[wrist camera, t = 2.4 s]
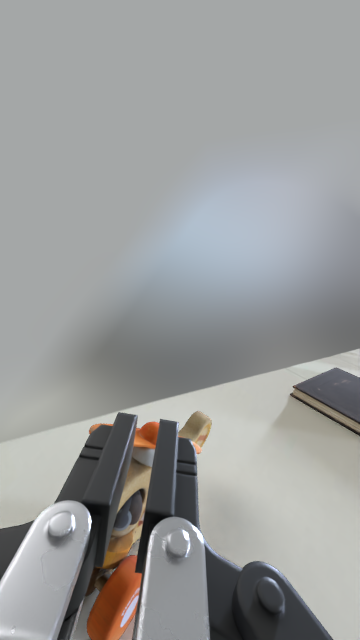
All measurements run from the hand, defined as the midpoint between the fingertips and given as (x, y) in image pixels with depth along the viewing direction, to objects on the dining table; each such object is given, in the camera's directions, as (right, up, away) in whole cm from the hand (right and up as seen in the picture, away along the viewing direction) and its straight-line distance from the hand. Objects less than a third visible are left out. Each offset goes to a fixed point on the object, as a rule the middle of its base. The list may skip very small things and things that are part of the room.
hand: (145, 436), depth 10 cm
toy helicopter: (-3, -16, +16) cm, 23 cm away
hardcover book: (+39, -14, +47) cm, 63 cm away
